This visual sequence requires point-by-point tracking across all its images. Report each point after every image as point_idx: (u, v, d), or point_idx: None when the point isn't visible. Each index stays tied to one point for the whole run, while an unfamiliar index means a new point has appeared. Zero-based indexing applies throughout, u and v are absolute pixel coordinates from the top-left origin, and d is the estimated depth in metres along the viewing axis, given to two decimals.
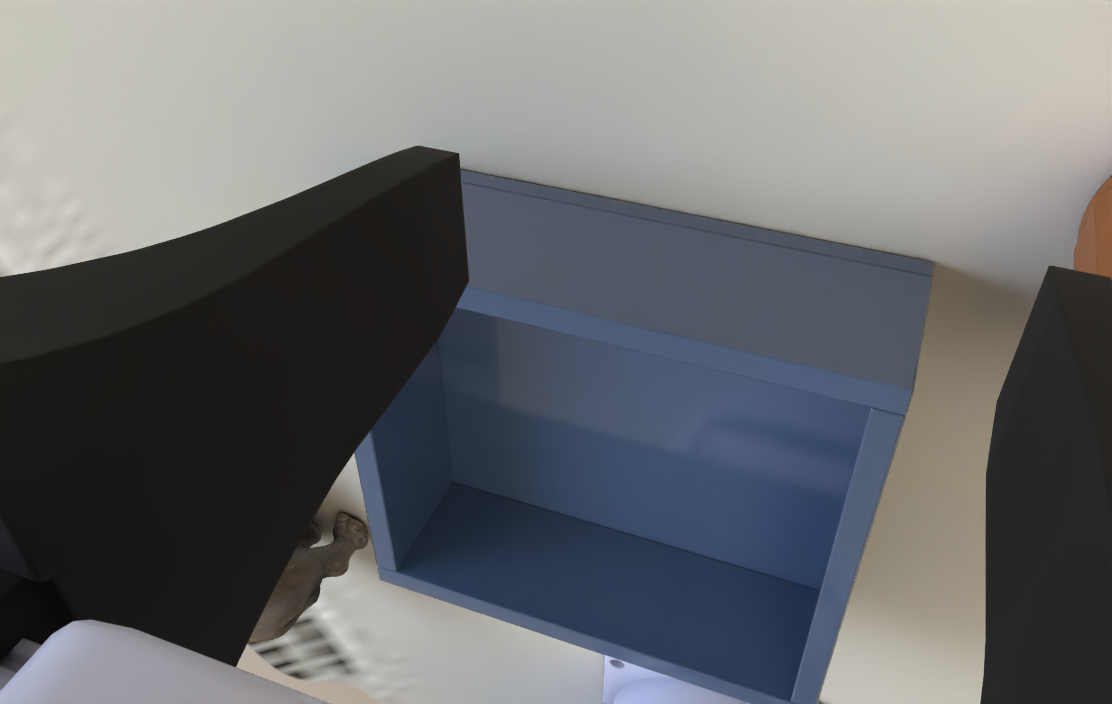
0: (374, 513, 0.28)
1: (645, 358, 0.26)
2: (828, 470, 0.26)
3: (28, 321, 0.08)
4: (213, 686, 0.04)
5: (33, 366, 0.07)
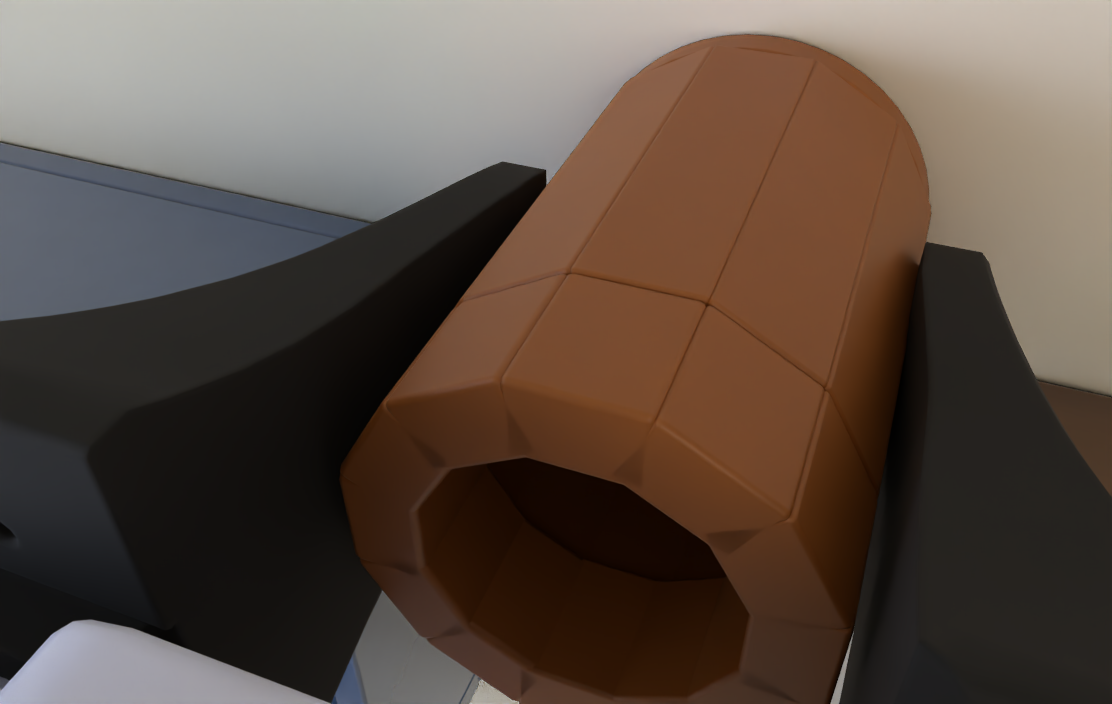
0: None
1: None
2: None
3: (152, 357, 0.07)
4: (214, 686, 0.04)
5: (169, 407, 0.07)
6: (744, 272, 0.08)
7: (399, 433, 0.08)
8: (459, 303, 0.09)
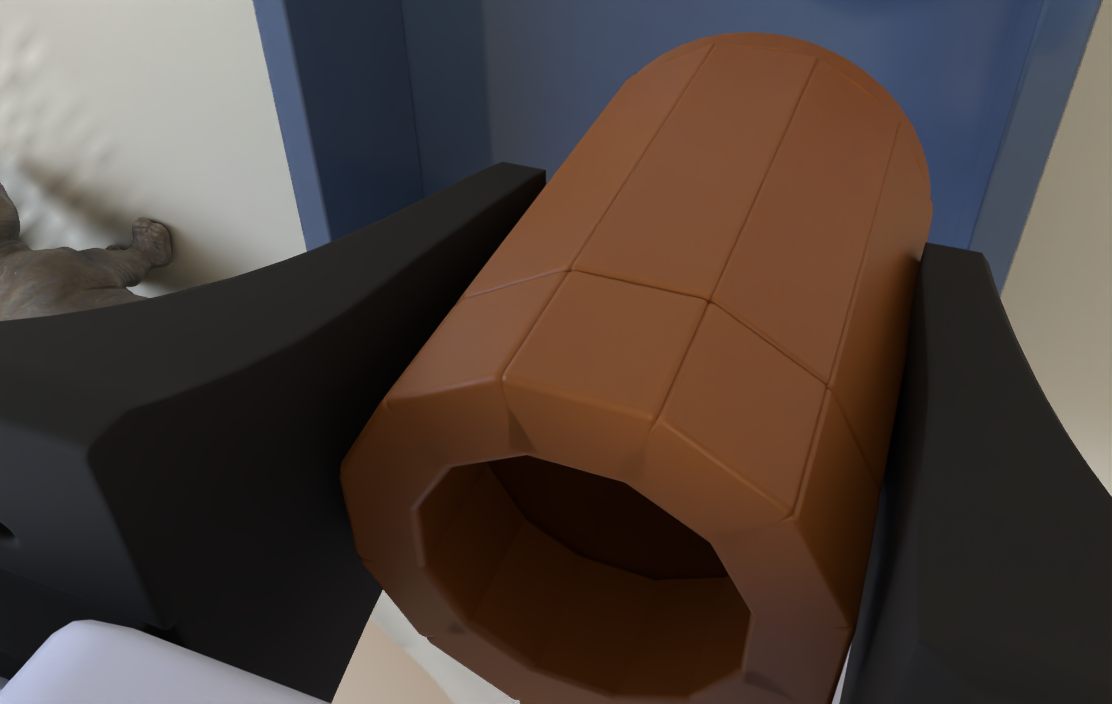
0: None
1: (688, 14, 0.19)
2: (945, 169, 0.19)
3: (152, 357, 0.07)
4: (214, 686, 0.04)
5: (168, 407, 0.07)
6: (746, 269, 0.08)
7: (400, 431, 0.08)
8: (460, 301, 0.09)
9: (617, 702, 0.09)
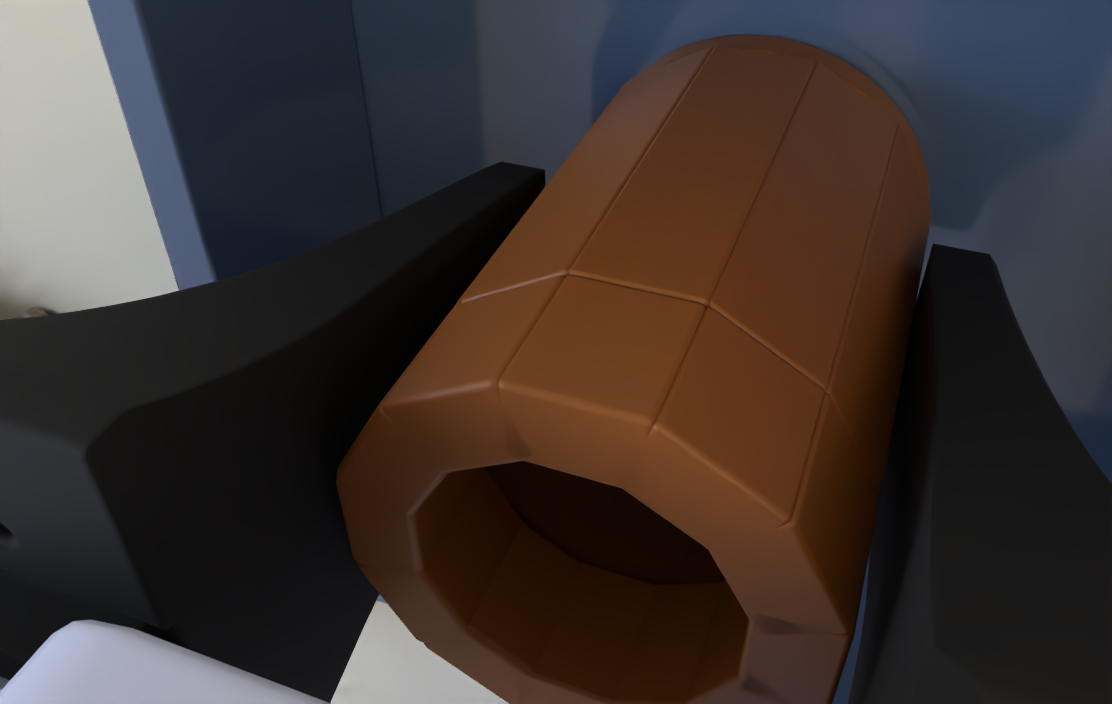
0: None
1: None
2: None
3: (151, 355, 0.07)
4: (213, 687, 0.04)
5: (168, 406, 0.07)
6: (744, 274, 0.08)
7: (396, 436, 0.08)
8: (457, 305, 0.09)
9: None
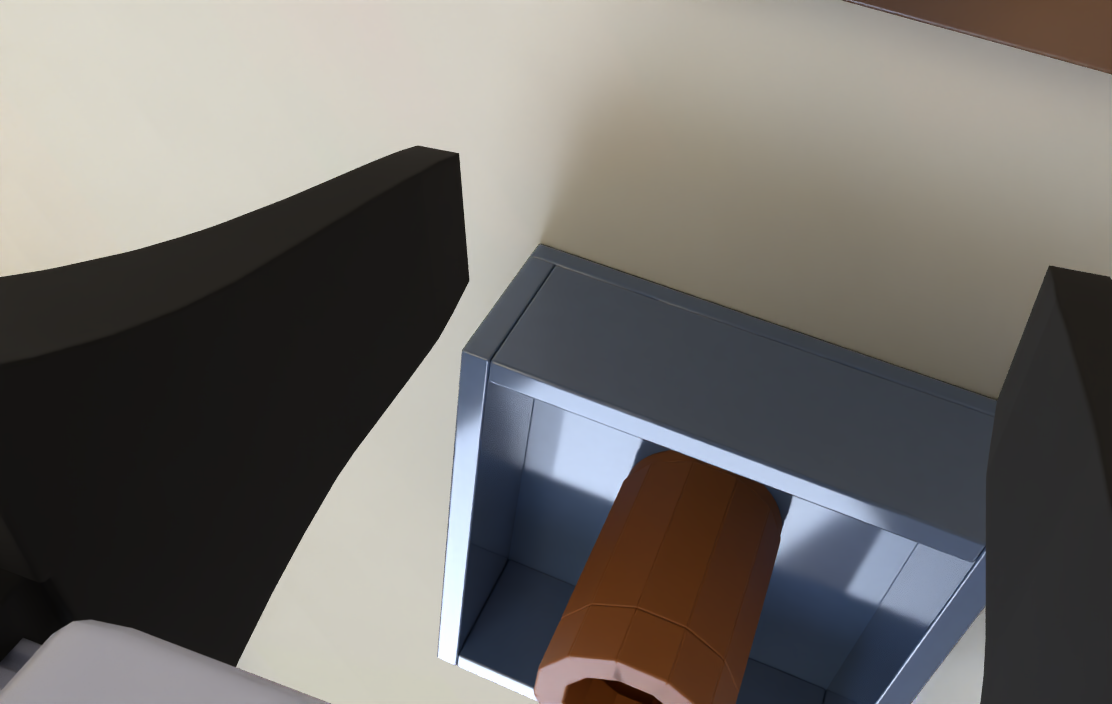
0: None
1: None
2: None
3: (28, 321, 0.08)
4: (214, 687, 0.04)
5: (33, 366, 0.07)
6: (573, 597, 0.25)
7: None
8: None
9: None
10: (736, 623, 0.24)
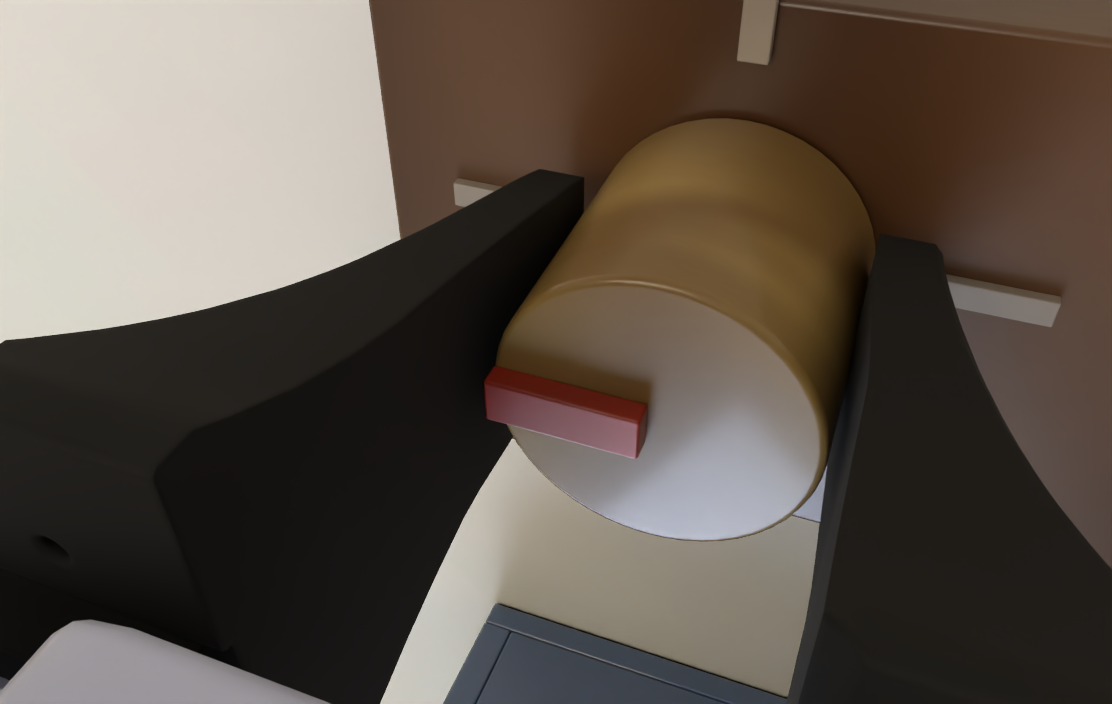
0: None
1: None
2: None
3: (208, 373, 0.07)
4: (213, 686, 0.04)
5: (231, 425, 0.07)
6: None
7: None
8: None
9: None
10: None
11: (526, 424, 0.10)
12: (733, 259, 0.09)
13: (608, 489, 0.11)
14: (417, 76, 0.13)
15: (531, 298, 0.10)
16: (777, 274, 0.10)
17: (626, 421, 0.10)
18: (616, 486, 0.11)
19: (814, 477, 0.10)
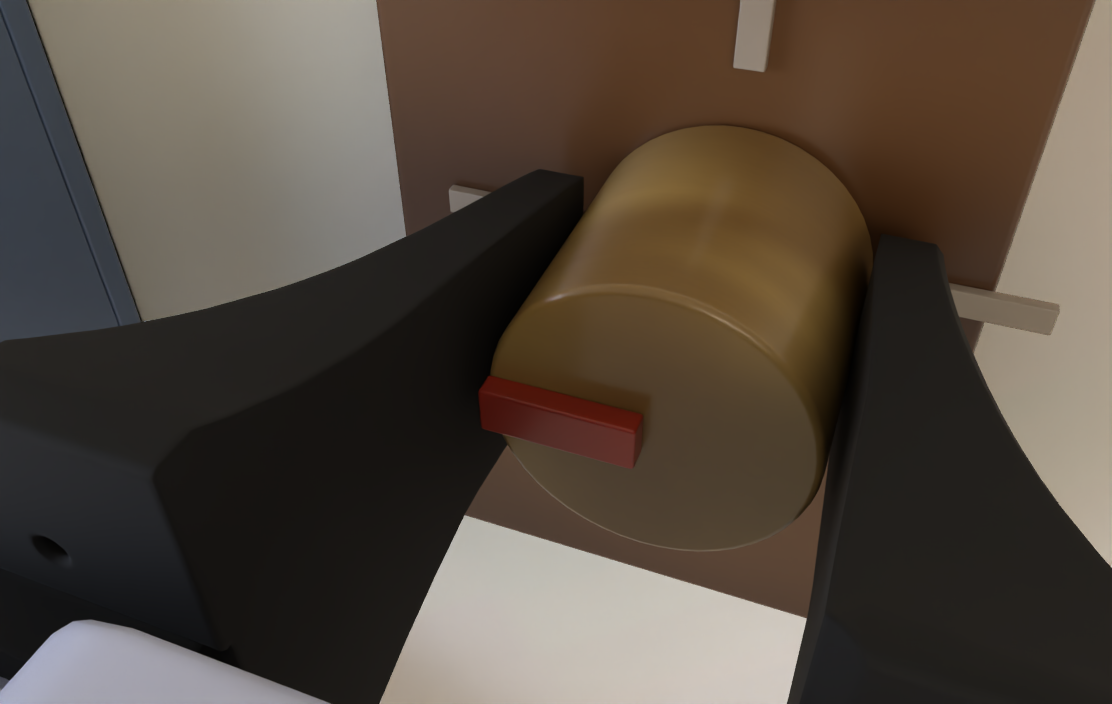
0: None
1: None
2: None
3: (208, 372, 0.07)
4: (213, 686, 0.04)
5: (230, 425, 0.07)
6: None
7: None
8: None
9: None
10: None
11: (521, 434, 0.10)
12: (730, 268, 0.09)
13: (604, 499, 0.11)
14: None
15: (526, 307, 0.10)
16: (773, 283, 0.10)
17: (622, 431, 0.10)
18: (612, 496, 0.11)
19: (811, 487, 0.10)
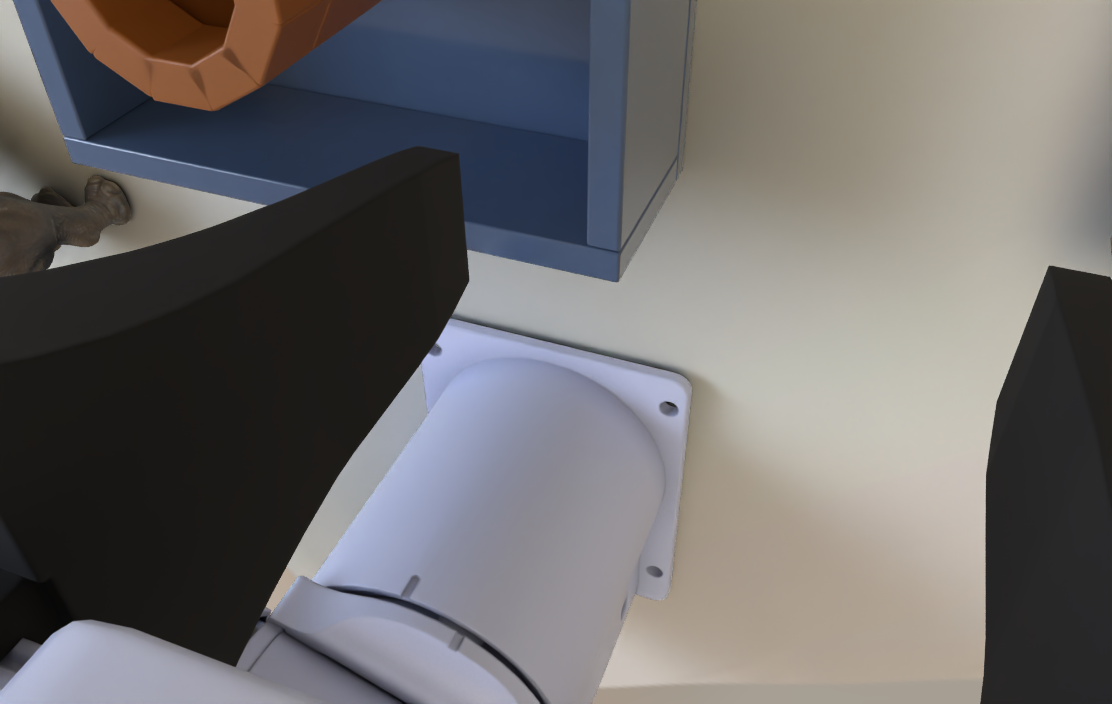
0: (31, 26, 0.21)
1: None
2: None
3: (29, 321, 0.08)
4: (213, 686, 0.04)
5: (33, 366, 0.07)
6: None
7: None
8: None
9: (194, 69, 0.16)
10: None
11: None
12: None
13: None
14: None
15: None
16: None
17: None
18: None
19: None
